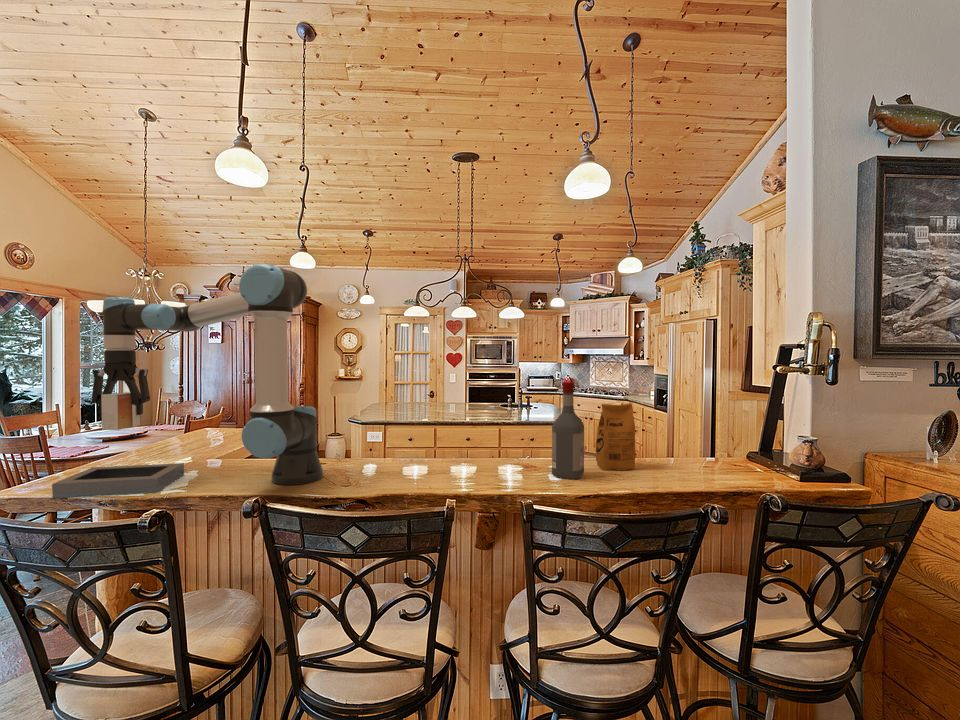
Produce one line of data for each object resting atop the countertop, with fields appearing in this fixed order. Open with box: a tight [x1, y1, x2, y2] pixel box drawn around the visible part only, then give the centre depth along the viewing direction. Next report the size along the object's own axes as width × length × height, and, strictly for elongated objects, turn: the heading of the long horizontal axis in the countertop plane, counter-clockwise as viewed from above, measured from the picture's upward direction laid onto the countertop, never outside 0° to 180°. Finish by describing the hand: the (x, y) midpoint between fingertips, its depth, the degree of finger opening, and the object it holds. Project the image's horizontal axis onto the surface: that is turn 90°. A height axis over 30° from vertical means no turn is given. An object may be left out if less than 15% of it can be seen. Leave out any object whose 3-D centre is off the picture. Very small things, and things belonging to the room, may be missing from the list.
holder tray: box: [51, 462, 185, 499], centre depth 141 cm, size 26×18×4 cm
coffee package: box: [595, 403, 636, 472], centre depth 160 cm, size 10×12×22 cm
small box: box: [101, 391, 142, 431], centre depth 140 cm, size 8×6×10 cm
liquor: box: [551, 381, 585, 481], centre depth 150 cm, size 9×9×30 cm
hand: (122, 426), depth 140 cm, fingers closed on small box, 7 cm apart
